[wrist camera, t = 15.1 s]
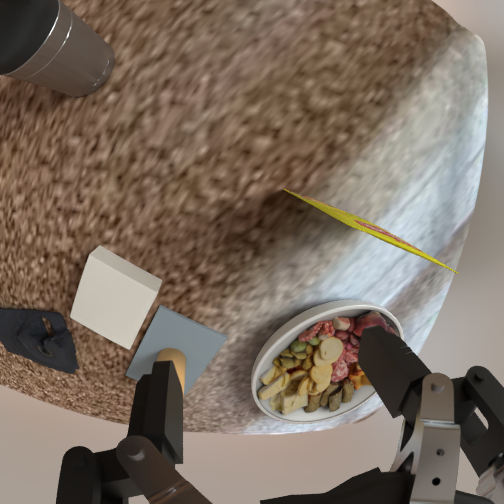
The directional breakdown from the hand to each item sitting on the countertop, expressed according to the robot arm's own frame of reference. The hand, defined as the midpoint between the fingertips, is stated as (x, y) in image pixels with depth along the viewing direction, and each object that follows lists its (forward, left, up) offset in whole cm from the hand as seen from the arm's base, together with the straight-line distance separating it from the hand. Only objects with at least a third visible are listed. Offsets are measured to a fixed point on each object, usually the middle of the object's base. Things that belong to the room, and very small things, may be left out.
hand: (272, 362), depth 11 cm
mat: (+4, -27, -29) cm, 40 cm away
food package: (+12, +8, -30) cm, 33 cm away
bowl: (+30, -15, -30) cm, 45 cm away
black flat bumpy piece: (-23, -40, -30) cm, 55 cm away
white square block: (-9, -20, -29) cm, 36 cm away
